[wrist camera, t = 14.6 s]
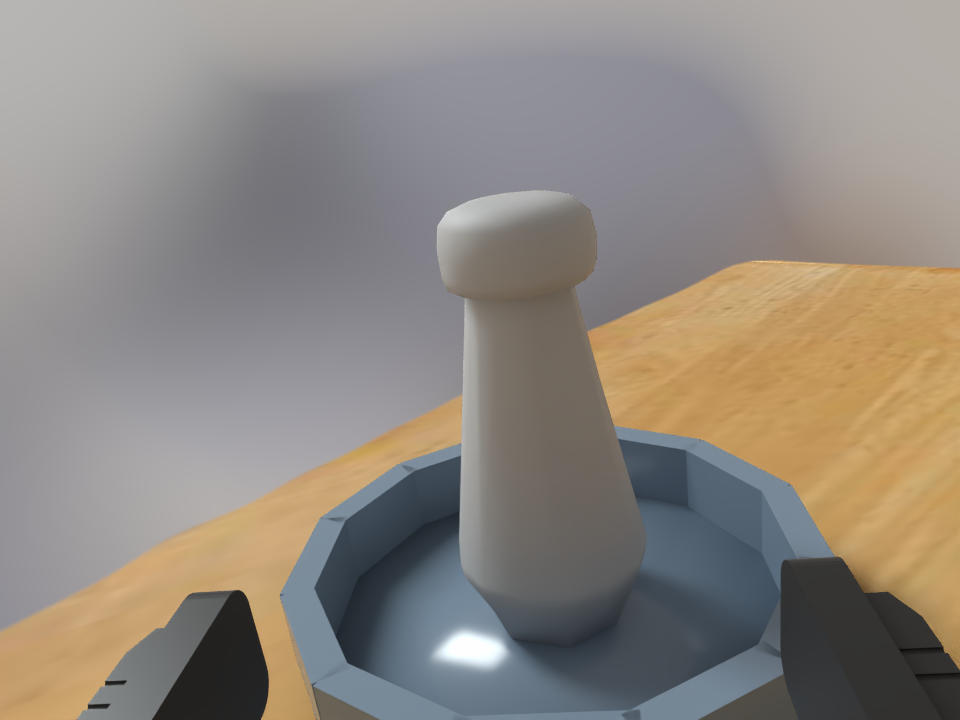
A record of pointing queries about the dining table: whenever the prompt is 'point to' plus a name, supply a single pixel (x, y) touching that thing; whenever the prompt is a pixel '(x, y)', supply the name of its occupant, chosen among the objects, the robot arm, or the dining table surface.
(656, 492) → the bowl
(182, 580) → the dining table surface
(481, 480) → the salt shaker
